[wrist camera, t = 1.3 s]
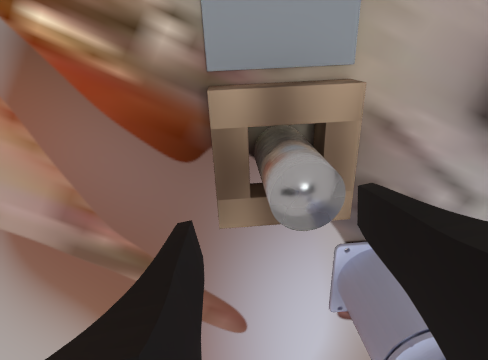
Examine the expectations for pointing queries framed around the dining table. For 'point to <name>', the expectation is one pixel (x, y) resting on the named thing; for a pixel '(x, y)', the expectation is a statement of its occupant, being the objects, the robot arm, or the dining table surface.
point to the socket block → (280, 113)
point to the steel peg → (297, 179)
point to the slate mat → (279, 33)
